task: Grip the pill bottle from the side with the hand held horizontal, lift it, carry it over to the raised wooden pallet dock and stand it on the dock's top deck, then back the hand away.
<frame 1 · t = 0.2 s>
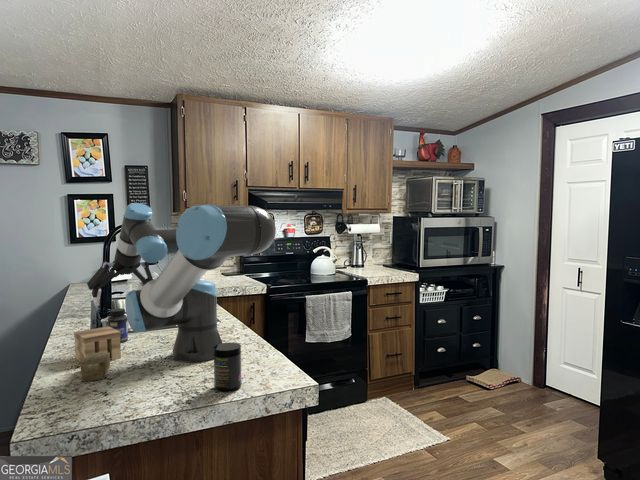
hand: (117, 301, 145), 15 cm above the table, tool tilted 35°, fingers open, 13 cm apart
supplement container: (228, 388, 108), on the table
pill bottle: (118, 341, 150), on the table
dock: (98, 358, 132), on the table
stone block: (96, 375, 118), on the table
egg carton: (115, 325, 173), on the table
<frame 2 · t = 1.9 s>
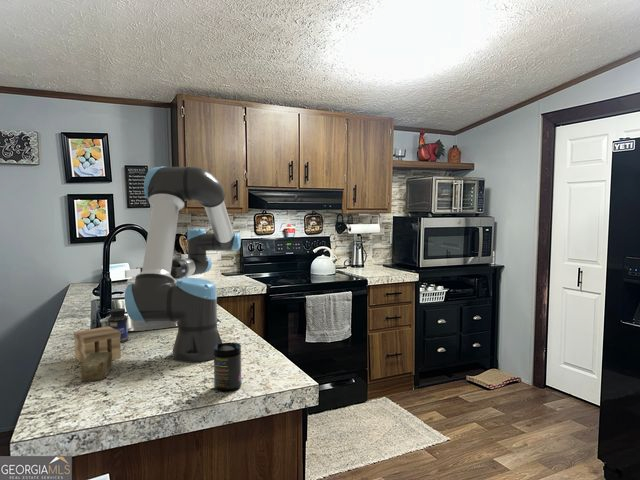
hand: (138, 275, 157), 22 cm above the table, tool horizontal, fingers open, 13 cm apart
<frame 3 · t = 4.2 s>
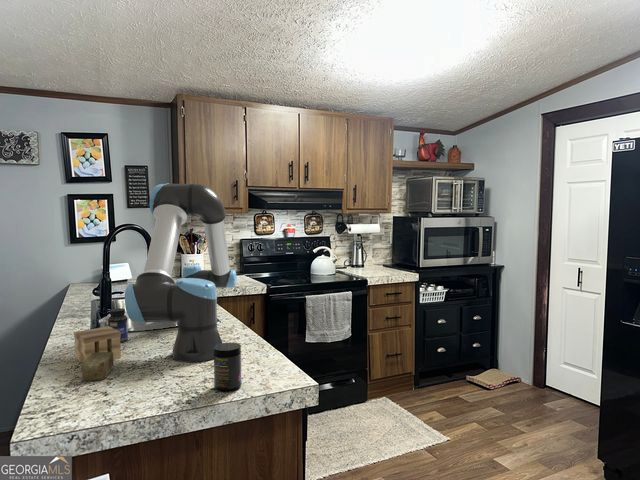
hand: (131, 319, 155), 6 cm above the table, tool horizontal, fingers open, 13 cm apart
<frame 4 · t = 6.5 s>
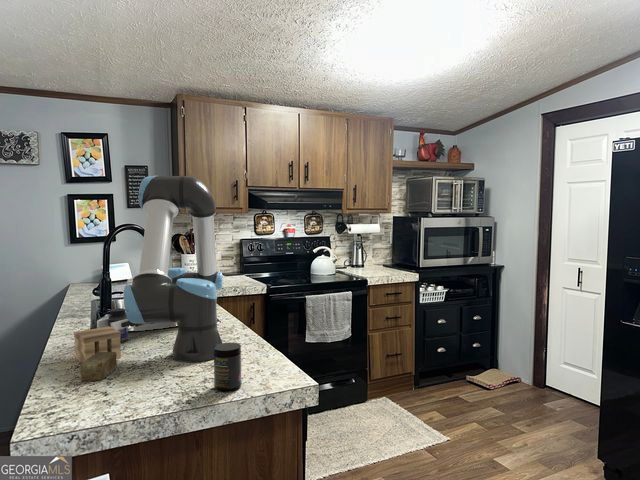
hand: (104, 326, 145), 7 cm above the table, tool horizontal, fingers closed on pill bottle, 6 cm apart
pill bottle: (118, 341, 150), on the table, touching gripper
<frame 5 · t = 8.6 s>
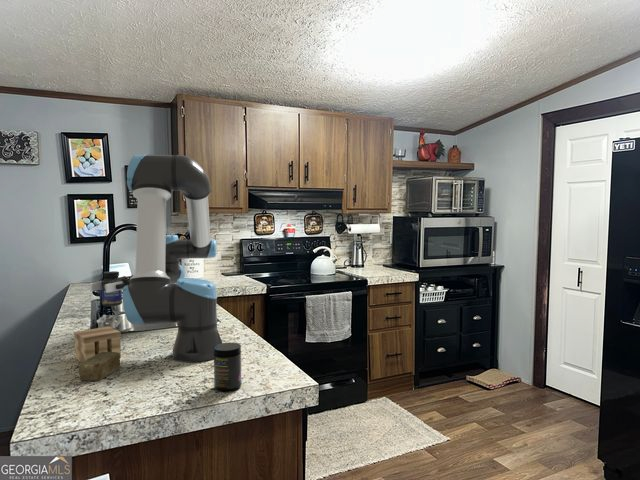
hand: (98, 287, 140), 20 cm above the table, tool horizontal, fingers closed on pill bottle, 6 cm apart
pill bottle: (112, 305, 146), point 13 cm above the table, touching gripper
when the fingers open (15 cm above the table, at t = 10.5 s): pill bottle stays where it is, resting on dock.
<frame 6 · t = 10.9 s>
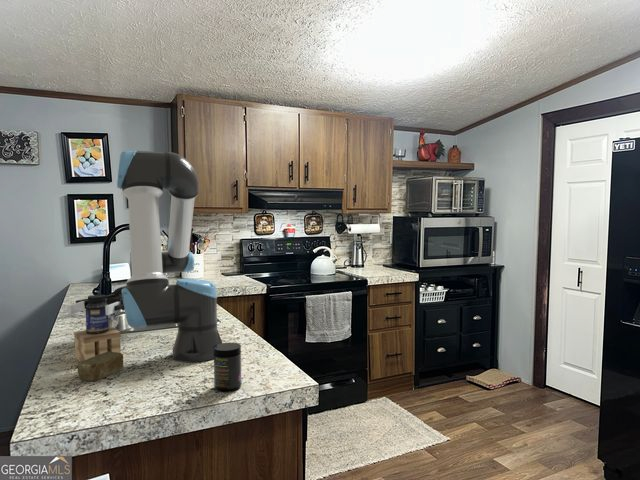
hand: (87, 310, 127), 15 cm above the table, tool horizontal, fingers open, 11 cm apart
pill bottle: (97, 332, 131), point 8 cm above the table, touching dock
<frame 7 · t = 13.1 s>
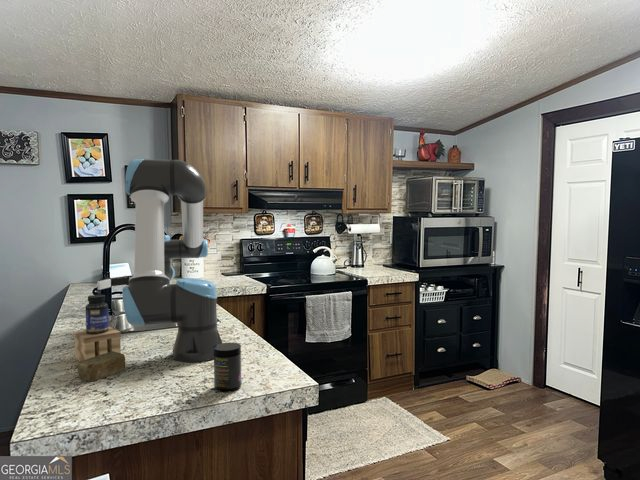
hand: (118, 285, 142), 20 cm above the table, tool horizontal, fingers open, 13 cm apart
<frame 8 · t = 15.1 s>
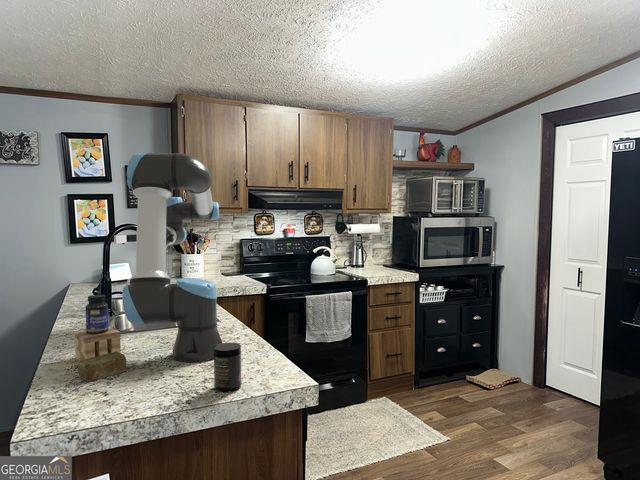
hand: (134, 239, 147), 35 cm above the table, tool horizontal, fingers open, 13 cm apart
at the end: pill bottle inside the target area on the dock (0.1 cm from its centre), point 7.8 cm above the dock's base; pill bottle tilted 0°; the gripper is holding nothing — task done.
